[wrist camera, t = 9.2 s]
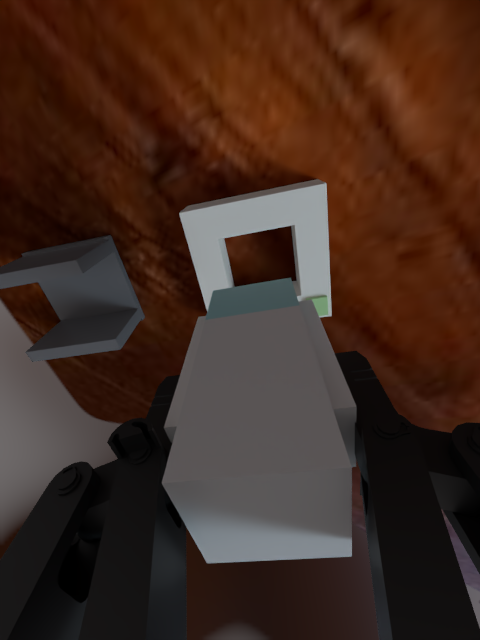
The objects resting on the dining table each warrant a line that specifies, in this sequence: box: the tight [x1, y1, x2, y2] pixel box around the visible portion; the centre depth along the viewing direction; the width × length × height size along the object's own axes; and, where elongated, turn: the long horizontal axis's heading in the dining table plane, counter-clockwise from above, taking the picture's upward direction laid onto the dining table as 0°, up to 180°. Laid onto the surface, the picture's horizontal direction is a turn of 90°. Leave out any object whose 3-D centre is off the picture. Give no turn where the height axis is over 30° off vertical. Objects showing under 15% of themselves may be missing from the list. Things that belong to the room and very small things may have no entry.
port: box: [179, 179, 332, 317], centre depth 23 cm, size 10×10×3 cm
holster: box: [0, 235, 145, 362], centre depth 24 cm, size 8×8×6 cm
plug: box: [162, 278, 352, 563], centre depth 11 cm, size 4×4×10 cm
